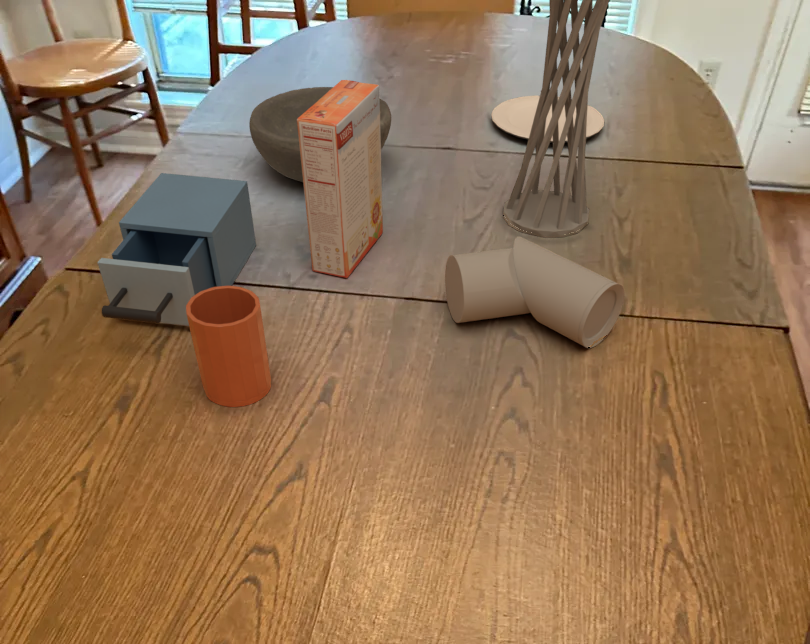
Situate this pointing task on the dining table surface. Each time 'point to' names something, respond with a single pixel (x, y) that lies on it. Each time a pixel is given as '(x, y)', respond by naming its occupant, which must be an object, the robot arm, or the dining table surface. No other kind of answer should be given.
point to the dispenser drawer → (156, 276)
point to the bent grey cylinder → (533, 290)
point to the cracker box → (342, 175)
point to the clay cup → (229, 345)
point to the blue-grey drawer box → (200, 217)
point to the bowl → (292, 128)
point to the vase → (545, 207)
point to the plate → (521, 113)
